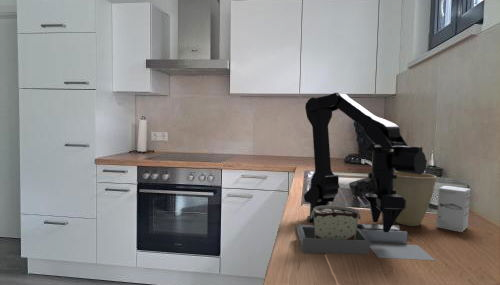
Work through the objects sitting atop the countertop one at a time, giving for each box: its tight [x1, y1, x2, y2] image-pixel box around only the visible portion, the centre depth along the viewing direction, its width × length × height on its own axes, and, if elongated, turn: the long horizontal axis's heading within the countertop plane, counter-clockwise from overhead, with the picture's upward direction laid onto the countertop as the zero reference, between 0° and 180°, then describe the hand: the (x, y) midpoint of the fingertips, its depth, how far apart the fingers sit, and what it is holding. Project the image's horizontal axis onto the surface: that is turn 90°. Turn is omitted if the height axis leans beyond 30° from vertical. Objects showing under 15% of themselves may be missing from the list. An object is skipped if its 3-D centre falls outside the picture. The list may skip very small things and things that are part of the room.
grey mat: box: [370, 243, 436, 261], centre depth 86 cm, size 10×13×1 cm
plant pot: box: [394, 170, 437, 227], centre depth 112 cm, size 15×15×16 cm
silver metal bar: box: [362, 224, 401, 231], centre depth 94 cm, size 3×9×3 cm, turn 87°
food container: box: [311, 204, 362, 240], centre depth 89 cm, size 12×6×10 cm, turn 92°
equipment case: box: [295, 224, 371, 255], centre depth 94 cm, size 21×16×4 cm
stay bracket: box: [357, 223, 408, 245], centre depth 94 cm, size 6×12×4 cm, turn 87°
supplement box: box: [436, 185, 471, 233], centre depth 108 cm, size 7×7×13 cm
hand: (380, 226), depth 94 cm, fingers open, 9 cm apart
